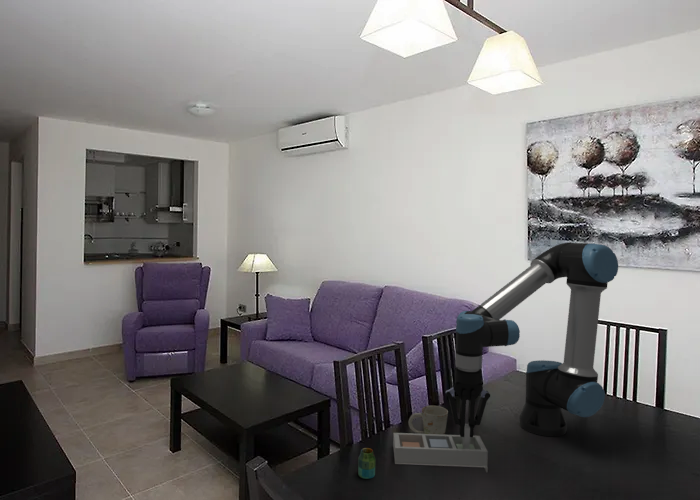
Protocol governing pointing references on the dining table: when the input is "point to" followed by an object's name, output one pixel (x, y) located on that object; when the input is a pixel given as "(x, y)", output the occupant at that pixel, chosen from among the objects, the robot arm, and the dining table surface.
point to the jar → (366, 464)
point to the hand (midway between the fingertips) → (465, 447)
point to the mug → (431, 420)
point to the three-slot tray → (439, 451)
